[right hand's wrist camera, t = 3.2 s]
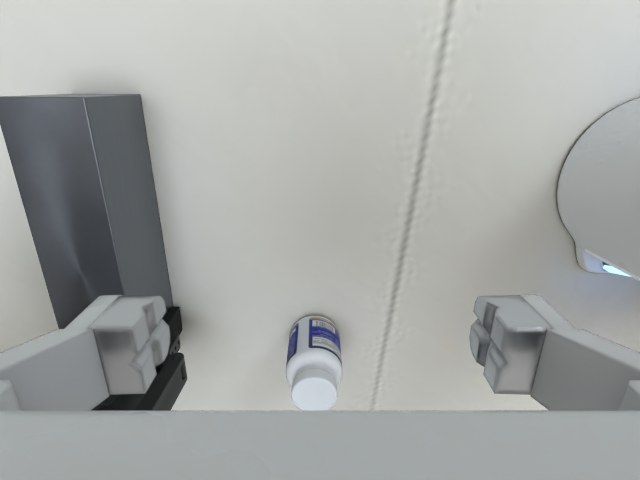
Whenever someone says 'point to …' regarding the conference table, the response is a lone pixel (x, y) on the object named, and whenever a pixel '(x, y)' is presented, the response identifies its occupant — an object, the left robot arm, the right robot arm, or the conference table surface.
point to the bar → (87, 196)
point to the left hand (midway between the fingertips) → (144, 318)
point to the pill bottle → (314, 363)
